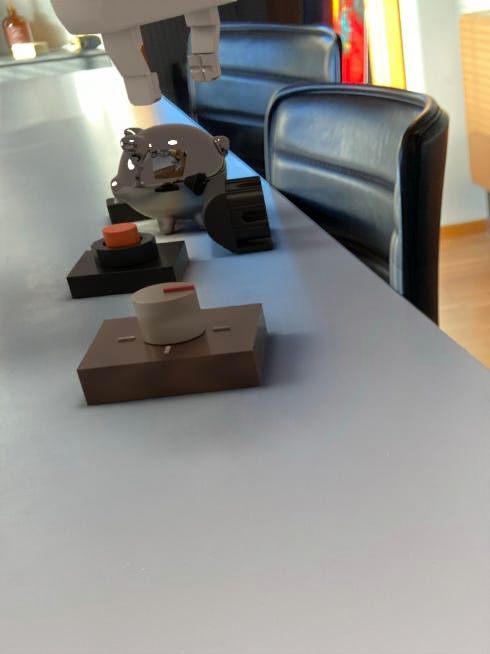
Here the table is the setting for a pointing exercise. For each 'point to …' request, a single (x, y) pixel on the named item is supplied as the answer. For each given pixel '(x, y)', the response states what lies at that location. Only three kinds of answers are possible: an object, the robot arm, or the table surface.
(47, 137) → the table surface
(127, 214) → the multiport hub
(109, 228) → the button
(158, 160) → the piggy bank
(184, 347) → the dial panel
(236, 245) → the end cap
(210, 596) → the table surface
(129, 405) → the table surface
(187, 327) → the dial knob
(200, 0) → the robot arm
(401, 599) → the table surface
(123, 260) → the box
